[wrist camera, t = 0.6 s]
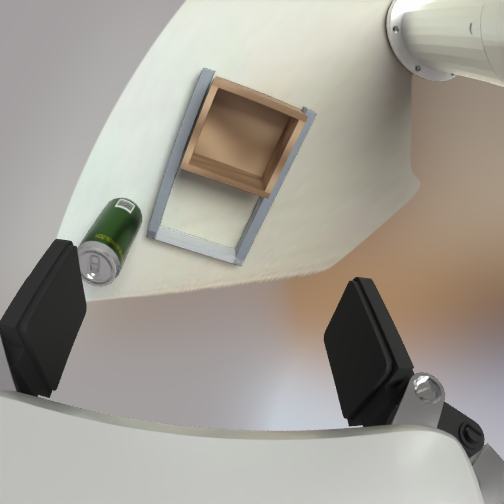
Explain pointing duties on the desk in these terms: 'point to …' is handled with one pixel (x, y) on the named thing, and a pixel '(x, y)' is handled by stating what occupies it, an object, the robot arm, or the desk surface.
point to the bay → (155, 228)
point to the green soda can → (109, 242)
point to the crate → (243, 137)
